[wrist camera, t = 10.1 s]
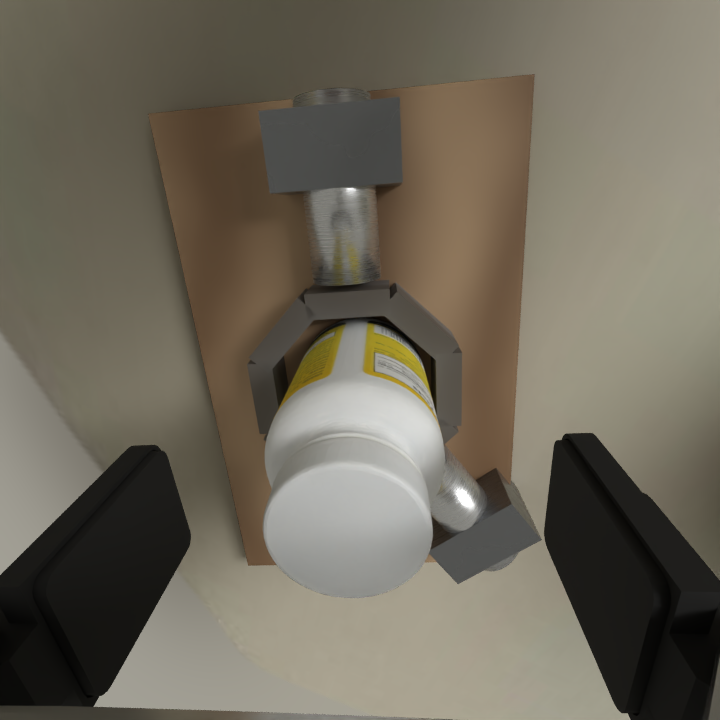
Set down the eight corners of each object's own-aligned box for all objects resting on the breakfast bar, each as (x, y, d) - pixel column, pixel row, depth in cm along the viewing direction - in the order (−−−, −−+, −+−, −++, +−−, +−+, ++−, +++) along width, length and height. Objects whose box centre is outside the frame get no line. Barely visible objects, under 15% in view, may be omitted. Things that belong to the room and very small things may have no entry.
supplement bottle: (308, 427, 20) (244, 618, 11) (298, 316, 18) (210, 432, 9) (422, 426, 19) (458, 623, 10) (425, 313, 18) (471, 431, 8)
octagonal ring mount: (525, 82, 15) (556, 54, 13) (500, 546, 23) (517, 593, 20) (161, 118, 16) (116, 101, 14) (253, 551, 24) (236, 597, 21)
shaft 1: (401, 266, 18) (406, 280, 15) (301, 273, 18) (283, 289, 15) (395, 107, 16) (399, 81, 13) (282, 118, 16) (255, 96, 13)
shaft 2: (383, 458, 21) (383, 505, 18) (454, 411, 20) (468, 452, 17) (451, 532, 23) (462, 589, 19) (520, 492, 22) (546, 545, 18)
